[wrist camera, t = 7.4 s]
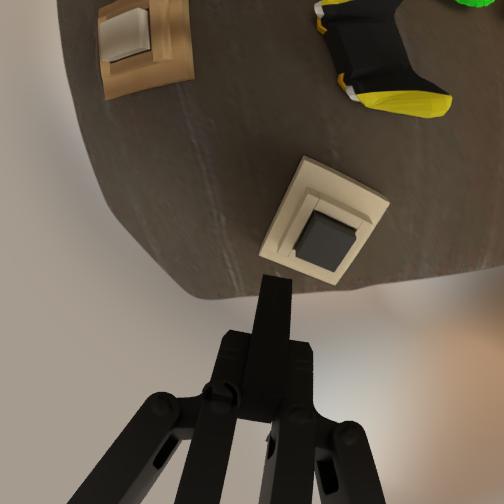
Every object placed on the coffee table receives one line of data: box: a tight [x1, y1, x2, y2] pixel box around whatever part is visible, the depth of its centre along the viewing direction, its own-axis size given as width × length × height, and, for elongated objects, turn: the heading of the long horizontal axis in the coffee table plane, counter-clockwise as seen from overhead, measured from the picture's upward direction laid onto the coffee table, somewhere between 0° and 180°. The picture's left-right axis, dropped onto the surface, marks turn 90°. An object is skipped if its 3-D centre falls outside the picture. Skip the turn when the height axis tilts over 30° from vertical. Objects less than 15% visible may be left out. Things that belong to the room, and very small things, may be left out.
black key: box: [295, 211, 357, 272], centre depth 27 cm, size 4×4×2 cm
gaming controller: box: [314, 0, 452, 118], centre depth 17 cm, size 15×6×10 cm
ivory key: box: [100, 8, 151, 61], centre depth 17 cm, size 4×4×2 cm
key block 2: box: [259, 155, 390, 285], centre depth 29 cm, size 12×10×4 cm
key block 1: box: [98, 0, 195, 100], centre depth 19 cm, size 12×10×4 cm
